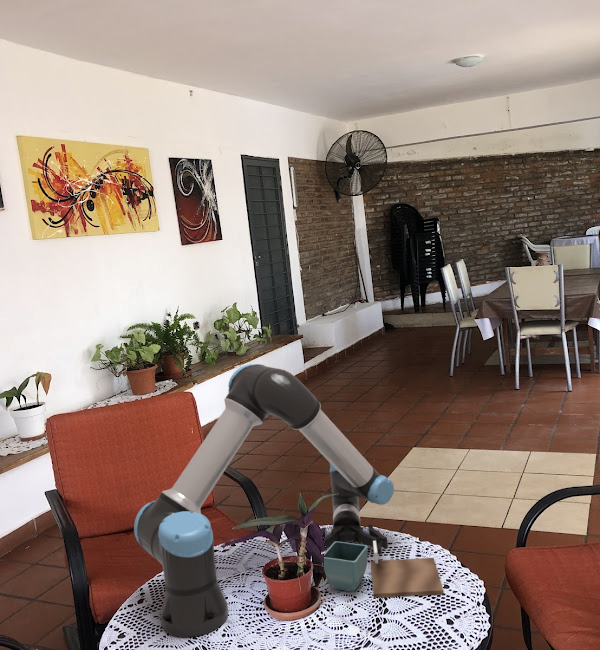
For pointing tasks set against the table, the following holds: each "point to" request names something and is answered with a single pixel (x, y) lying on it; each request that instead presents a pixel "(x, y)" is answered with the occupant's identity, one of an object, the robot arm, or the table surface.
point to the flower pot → (345, 565)
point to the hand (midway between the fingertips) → (348, 559)
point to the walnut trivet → (405, 577)
